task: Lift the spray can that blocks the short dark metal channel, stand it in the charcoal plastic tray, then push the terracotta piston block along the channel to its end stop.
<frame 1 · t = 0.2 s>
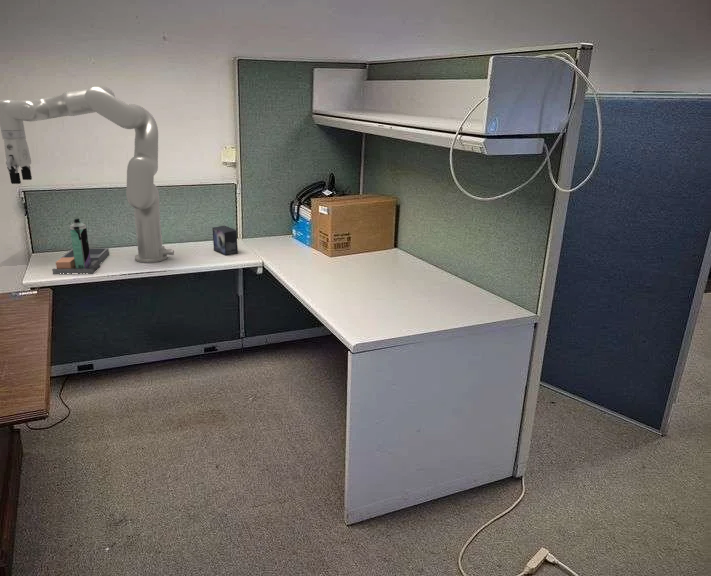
hand: (21, 181, 209), 31 cm above the table, tool pointing down, fingers open, 9 cm apart
piston block: (66, 264, 208), point 2 cm above the table, slide at 0.0 cm
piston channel: (77, 270, 209), on the table
small box: (225, 252, 239), on the table
tray: (86, 260, 222), on the table
spray can: (84, 271, 209), resting in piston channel
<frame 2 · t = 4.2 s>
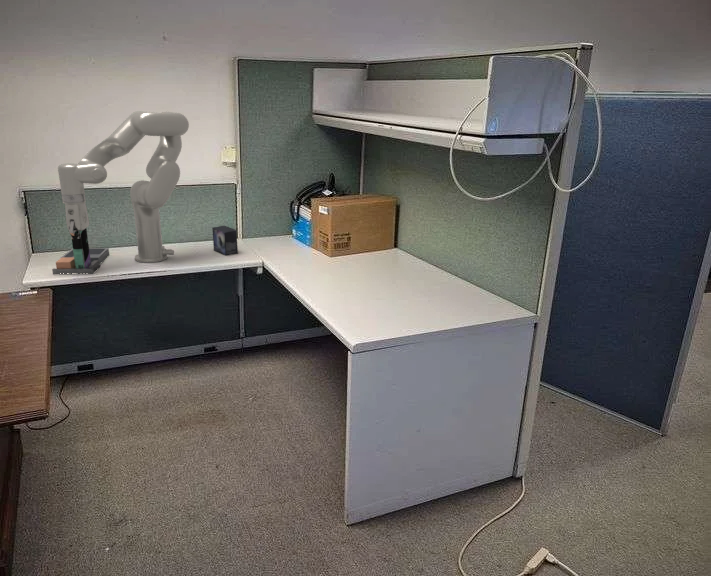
hand: (80, 246, 206), 9 cm above the table, tool pointing down, fingers closed on spray can, 5 cm apart
spray can: (84, 271, 209), resting in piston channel, touching gripper
everything else where it was.
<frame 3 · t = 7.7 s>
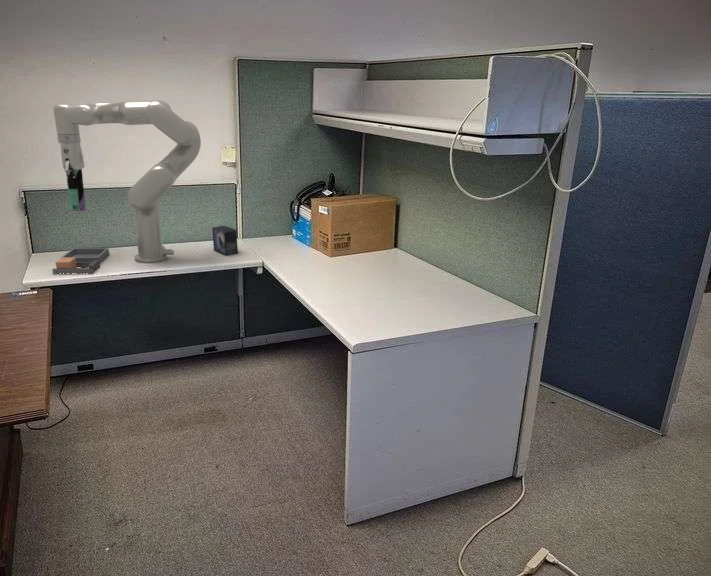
hand: (76, 187, 212), 29 cm above the table, tool pointing down, fingers closed on spray can, 5 cm apart
spray can: (78, 212, 215), point 20 cm above the table, touching gripper
everything else where it was.
when the fingers open (11 cm above the table, at t = 11.5 s): spray can drops 1 cm, resting on tray.
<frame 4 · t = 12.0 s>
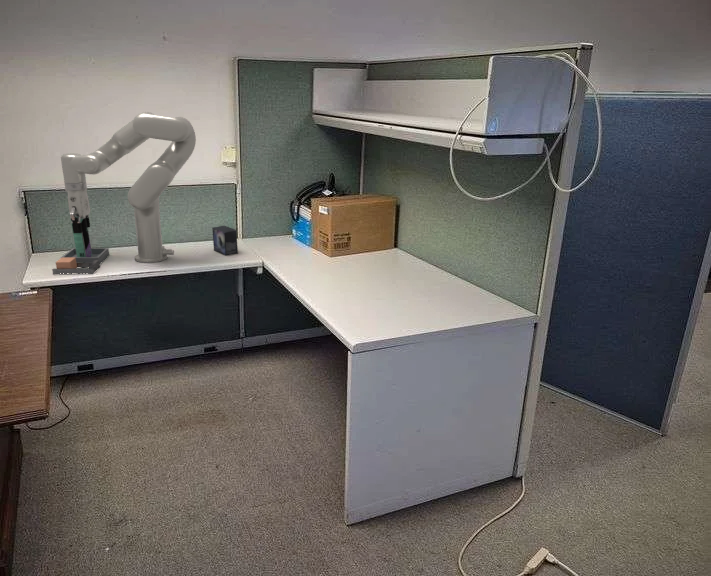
hand: (82, 230, 218), 12 cm above the table, tool pointing down, fingers open, 9 cm apart
spray can: (85, 258, 222), resting on tray
everything else where it was.
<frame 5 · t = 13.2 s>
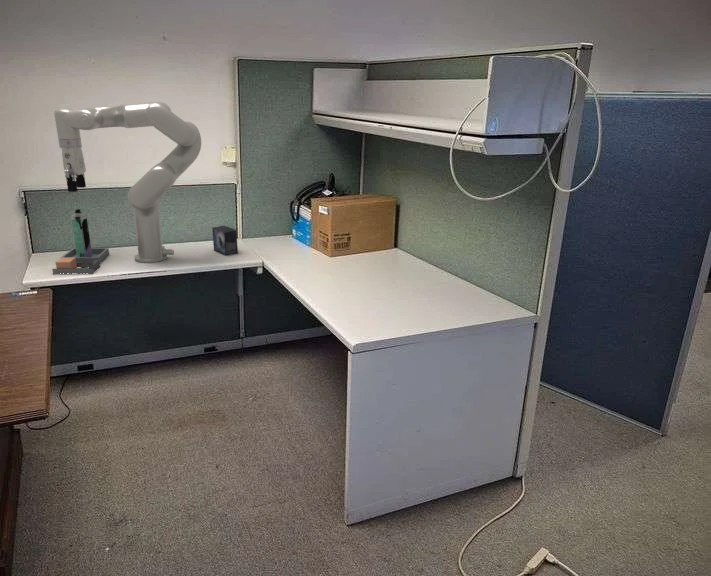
hand: (77, 189, 212), 28 cm above the table, tool pointing down, fingers open, 9 cm apart
nothing on the table moved.
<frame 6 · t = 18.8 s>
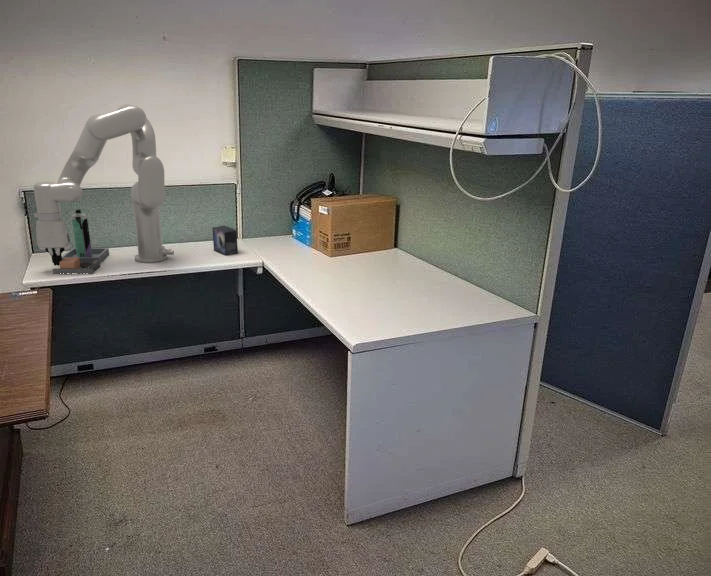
hand: (57, 264, 207), 2 cm above the table, tool pointing down, fingers closed
piston block: (70, 264, 208), point 2 cm above the table, slide at 1.3 cm, touching gripper
everything else where it was.
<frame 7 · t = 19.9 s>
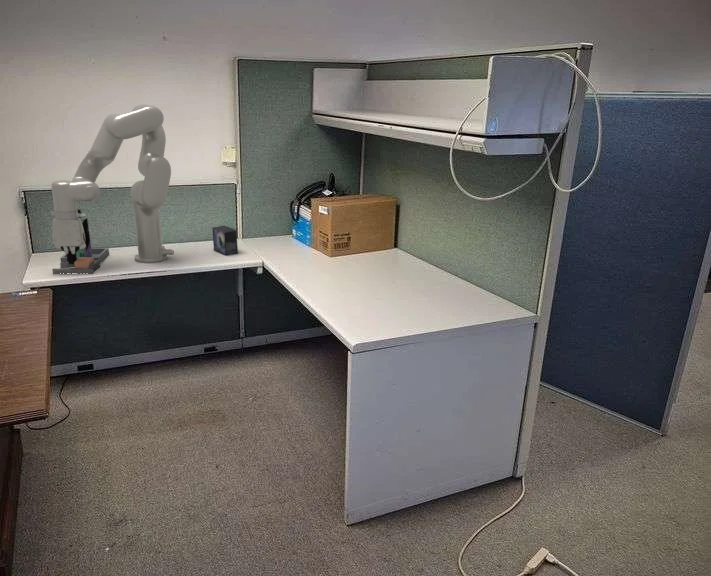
hand: (72, 263, 207), 3 cm above the table, tool pointing down, fingers closed
piston block: (84, 264, 209), point 2 cm above the table, slide at 6.5 cm, touching gripper, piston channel
everything else where it was.
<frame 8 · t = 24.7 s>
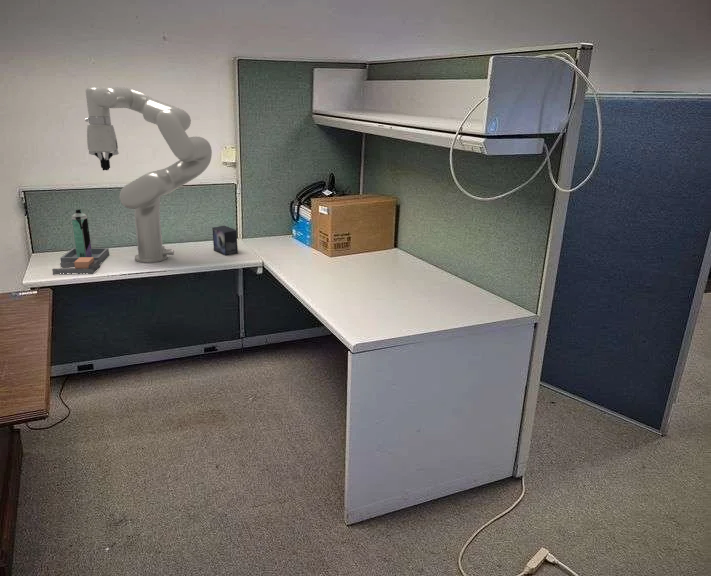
hand: (105, 169, 217), 35 cm above the table, tool pointing down, fingers closed
piston block: (84, 264, 209), point 2 cm above the table, slide at 6.5 cm, touching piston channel
everything else where it was.
at the end: piston block slide at 6.5 cm; spray can inside the target area on the tray (0.3 cm from its centre), point 0.4 cm above the tray's base; spray can tilted 0° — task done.
